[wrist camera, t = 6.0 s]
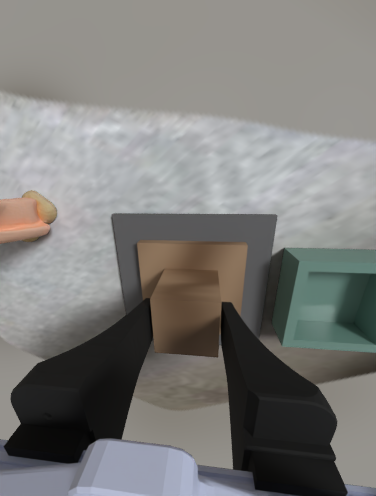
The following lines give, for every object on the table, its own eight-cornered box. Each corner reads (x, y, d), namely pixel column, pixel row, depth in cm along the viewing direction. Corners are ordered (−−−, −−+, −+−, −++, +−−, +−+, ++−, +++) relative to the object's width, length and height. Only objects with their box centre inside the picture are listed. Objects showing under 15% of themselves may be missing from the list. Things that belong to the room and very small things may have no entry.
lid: (245, 242, 14) (263, 271, 10) (237, 328, 17) (248, 383, 12) (140, 239, 15) (111, 265, 10) (148, 322, 17) (128, 372, 13)
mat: (275, 214, 14) (277, 215, 13) (256, 344, 18) (257, 347, 17) (114, 213, 15) (111, 214, 14) (131, 335, 19) (129, 338, 18)
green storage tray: (385, 250, 14) (422, 264, 11) (357, 327, 16) (383, 353, 14) (284, 247, 14) (299, 261, 12) (271, 322, 17) (282, 346, 14)
